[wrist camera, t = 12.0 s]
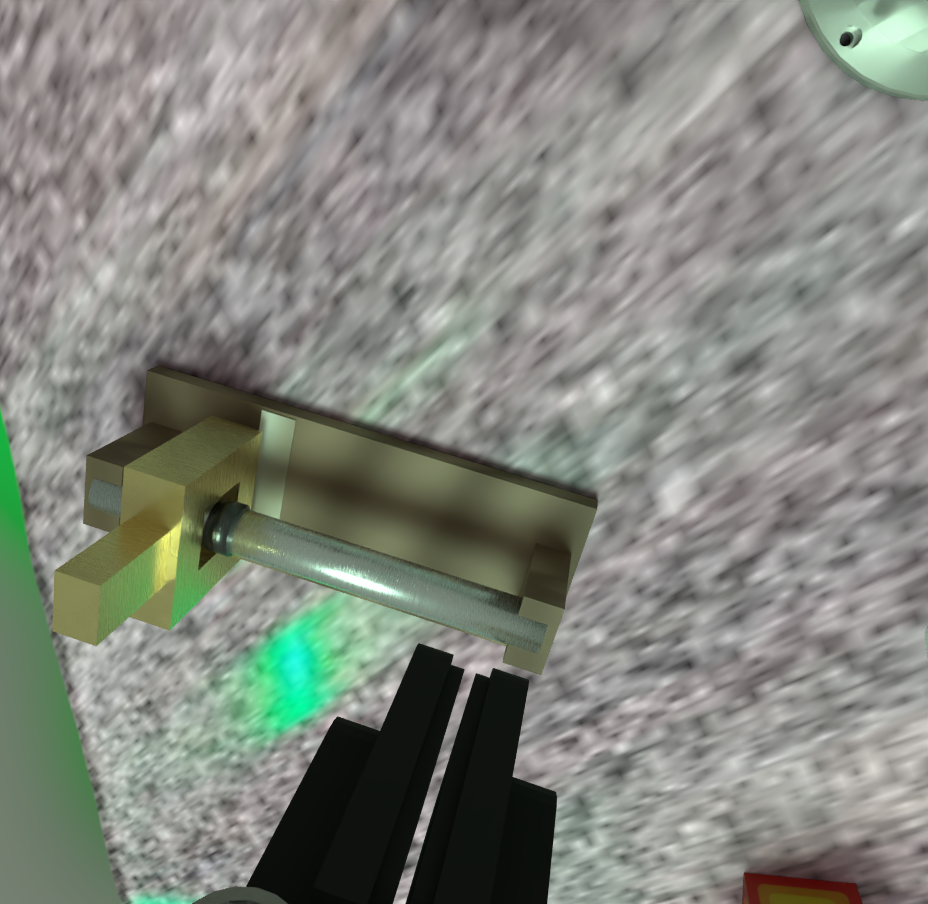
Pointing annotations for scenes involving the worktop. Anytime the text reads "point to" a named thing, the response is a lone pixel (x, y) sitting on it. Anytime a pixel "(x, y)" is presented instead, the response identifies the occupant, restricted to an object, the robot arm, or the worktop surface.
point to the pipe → (355, 570)
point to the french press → (927, 635)
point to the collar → (159, 535)
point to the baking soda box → (796, 891)
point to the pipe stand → (380, 497)
